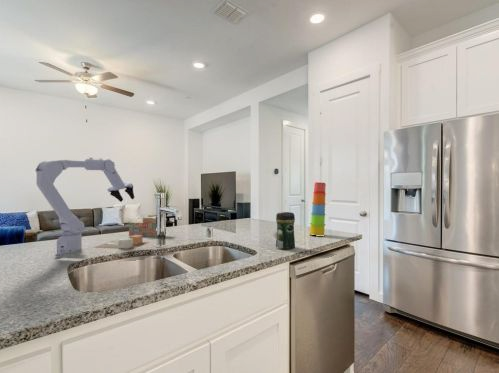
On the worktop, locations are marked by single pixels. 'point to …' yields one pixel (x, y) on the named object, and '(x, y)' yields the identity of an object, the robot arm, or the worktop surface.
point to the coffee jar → (285, 230)
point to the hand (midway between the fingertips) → (127, 199)
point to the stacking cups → (318, 209)
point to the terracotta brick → (136, 239)
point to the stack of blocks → (143, 227)
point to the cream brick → (125, 243)
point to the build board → (115, 245)
